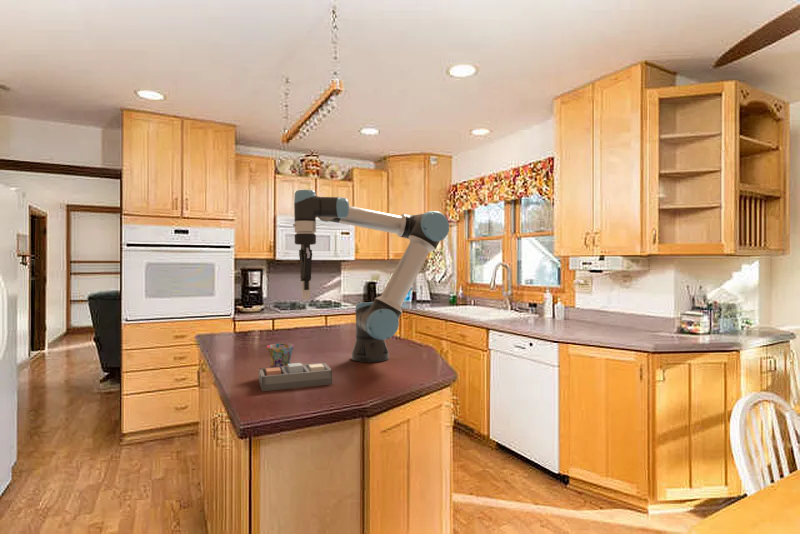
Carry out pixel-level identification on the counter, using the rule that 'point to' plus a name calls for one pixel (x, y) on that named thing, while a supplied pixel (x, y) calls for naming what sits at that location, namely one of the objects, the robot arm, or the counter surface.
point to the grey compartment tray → (295, 378)
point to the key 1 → (273, 371)
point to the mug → (280, 354)
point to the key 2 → (316, 367)
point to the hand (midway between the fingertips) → (305, 298)
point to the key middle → (295, 368)
